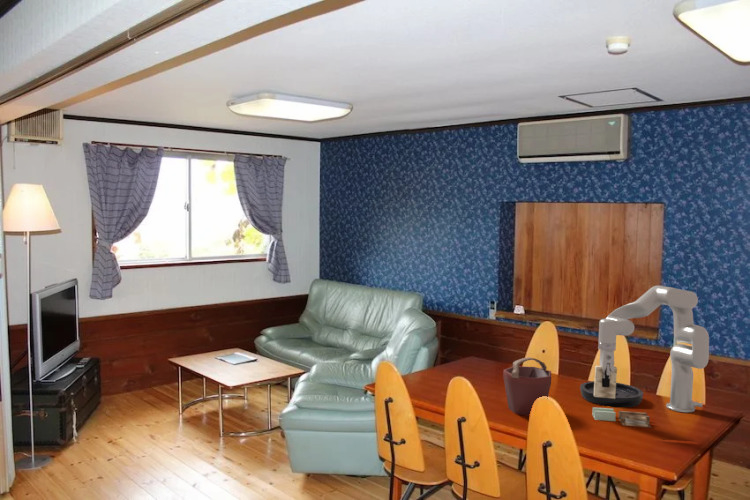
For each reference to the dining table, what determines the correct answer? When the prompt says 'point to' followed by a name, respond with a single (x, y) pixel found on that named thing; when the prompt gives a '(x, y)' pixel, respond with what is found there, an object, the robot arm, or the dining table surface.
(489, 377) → the dining table surface
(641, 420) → the offcut stack
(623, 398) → the round tray
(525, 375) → the bucket
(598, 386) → the birch board
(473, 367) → the dining table surface
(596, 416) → the slotted stand
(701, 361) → the robot arm
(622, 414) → the rack
